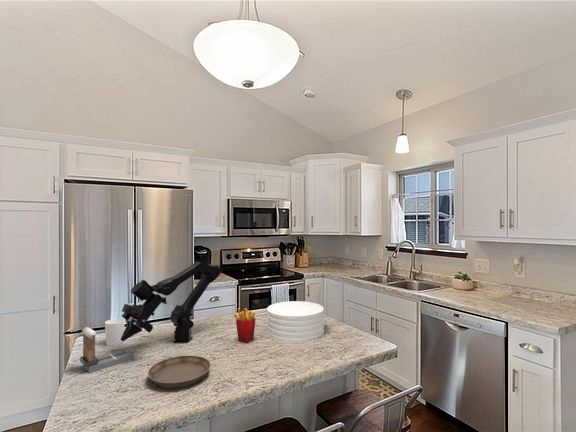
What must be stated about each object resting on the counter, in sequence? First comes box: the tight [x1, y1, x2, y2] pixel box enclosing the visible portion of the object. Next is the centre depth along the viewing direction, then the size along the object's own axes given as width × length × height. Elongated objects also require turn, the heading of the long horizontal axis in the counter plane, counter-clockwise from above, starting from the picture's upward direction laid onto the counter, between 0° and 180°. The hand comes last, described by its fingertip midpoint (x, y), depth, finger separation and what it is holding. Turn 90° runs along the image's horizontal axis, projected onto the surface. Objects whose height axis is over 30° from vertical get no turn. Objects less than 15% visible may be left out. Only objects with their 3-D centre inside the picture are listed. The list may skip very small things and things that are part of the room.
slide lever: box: [79, 326, 98, 367], centre depth 117 cm, size 4×7×12 cm, turn 47°
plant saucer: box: [147, 355, 212, 389], centre depth 110 cm, size 21×21×3 cm
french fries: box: [233, 307, 257, 344], centre depth 143 cm, size 9×8×15 cm
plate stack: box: [266, 300, 325, 342], centre depth 156 cm, size 28×28×12 cm
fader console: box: [82, 349, 134, 374], centre depth 122 cm, size 15×8×2 cm, turn 137°
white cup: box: [104, 318, 126, 347], centre depth 143 cm, size 8×8×10 cm
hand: (121, 340), depth 126 cm, fingers closed
